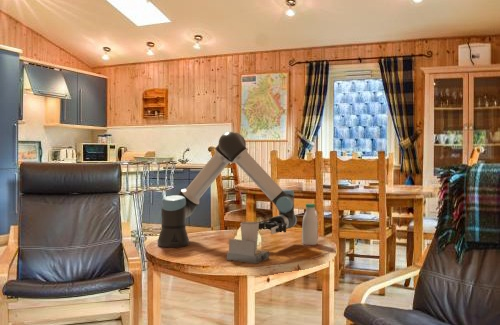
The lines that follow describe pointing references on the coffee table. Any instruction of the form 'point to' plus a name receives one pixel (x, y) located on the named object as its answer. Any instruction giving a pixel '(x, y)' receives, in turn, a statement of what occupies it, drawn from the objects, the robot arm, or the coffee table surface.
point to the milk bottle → (310, 226)
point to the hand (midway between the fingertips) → (257, 230)
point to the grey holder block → (245, 252)
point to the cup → (250, 231)
